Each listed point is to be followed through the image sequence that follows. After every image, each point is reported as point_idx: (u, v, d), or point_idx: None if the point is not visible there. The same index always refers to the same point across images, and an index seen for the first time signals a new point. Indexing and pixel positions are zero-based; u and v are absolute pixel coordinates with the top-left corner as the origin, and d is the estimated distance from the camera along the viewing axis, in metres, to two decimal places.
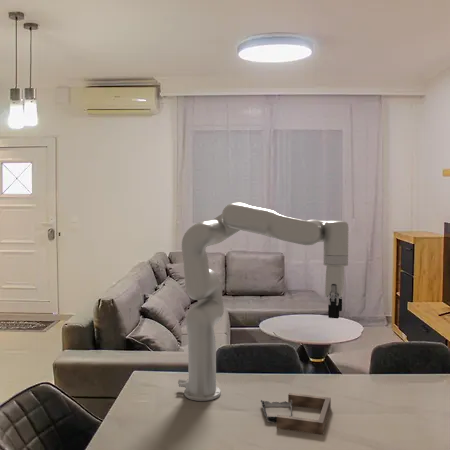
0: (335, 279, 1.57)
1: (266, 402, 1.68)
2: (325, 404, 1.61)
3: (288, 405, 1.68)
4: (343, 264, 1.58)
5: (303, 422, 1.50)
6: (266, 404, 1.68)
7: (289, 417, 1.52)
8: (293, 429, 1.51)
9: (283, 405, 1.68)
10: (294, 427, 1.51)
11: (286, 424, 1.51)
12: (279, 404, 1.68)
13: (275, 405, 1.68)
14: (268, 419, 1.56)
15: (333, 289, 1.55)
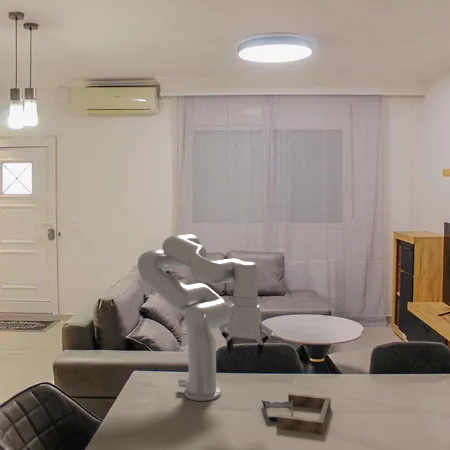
0: (260, 318, 1.62)
1: (267, 402, 1.68)
2: (325, 404, 1.61)
3: (289, 405, 1.68)
4: None
5: (303, 422, 1.50)
6: (267, 404, 1.68)
7: (289, 417, 1.52)
8: (293, 429, 1.51)
9: (284, 405, 1.68)
10: (294, 427, 1.51)
11: (286, 424, 1.51)
12: (280, 404, 1.68)
13: (276, 405, 1.68)
14: (269, 419, 1.56)
15: (266, 327, 1.62)
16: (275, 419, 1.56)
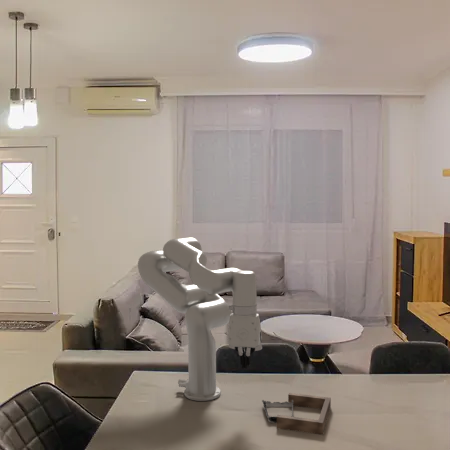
0: (260, 327, 1.62)
1: (267, 402, 1.68)
2: (325, 404, 1.61)
3: (289, 405, 1.68)
4: None
5: (303, 422, 1.50)
6: (267, 404, 1.68)
7: (289, 417, 1.52)
8: (293, 429, 1.51)
9: (284, 405, 1.68)
10: (294, 427, 1.51)
11: (286, 424, 1.51)
12: (280, 404, 1.68)
13: (276, 405, 1.68)
14: (270, 419, 1.56)
15: (260, 342, 1.62)
16: (276, 419, 1.56)
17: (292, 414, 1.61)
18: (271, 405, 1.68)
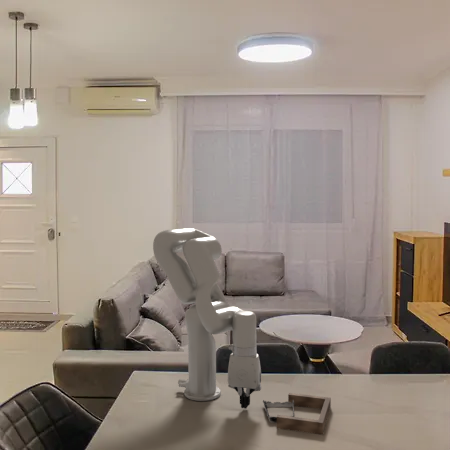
0: (260, 367, 1.63)
1: (268, 402, 1.68)
2: (325, 404, 1.61)
3: (290, 405, 1.68)
4: None
5: (303, 422, 1.50)
6: (268, 404, 1.68)
7: (289, 417, 1.52)
8: (293, 429, 1.51)
9: (285, 405, 1.68)
10: (294, 427, 1.51)
11: (286, 424, 1.51)
12: (281, 404, 1.68)
13: (277, 405, 1.68)
14: (270, 419, 1.56)
15: (259, 383, 1.63)
16: (276, 419, 1.56)
17: (293, 414, 1.61)
18: (272, 405, 1.68)
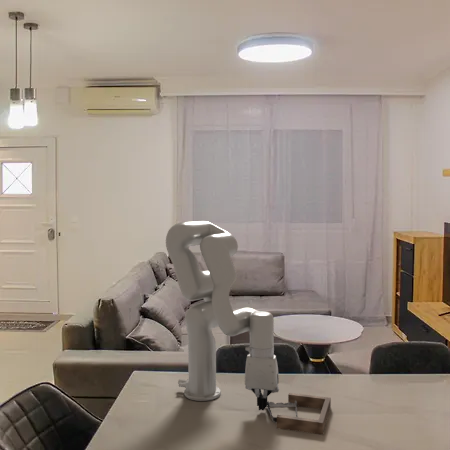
0: (277, 368, 1.61)
1: (271, 403, 1.68)
2: (325, 404, 1.61)
3: (293, 406, 1.68)
4: None
5: (303, 422, 1.50)
6: (271, 405, 1.68)
7: (289, 417, 1.52)
8: (293, 429, 1.51)
9: (288, 406, 1.68)
10: (294, 427, 1.51)
11: (286, 424, 1.51)
12: (284, 405, 1.68)
13: (280, 406, 1.68)
14: (274, 420, 1.56)
15: (277, 384, 1.61)
16: None
17: (296, 415, 1.61)
18: (274, 406, 1.68)
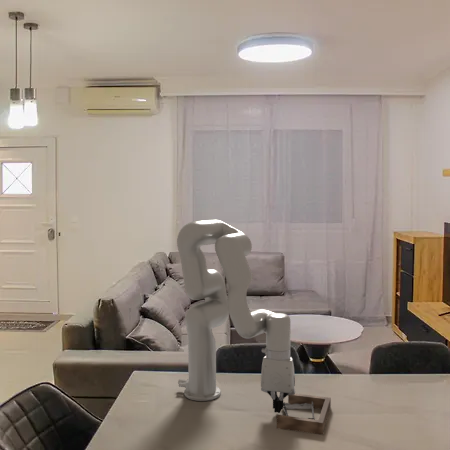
0: None
1: (287, 404, 1.67)
2: (325, 404, 1.61)
3: (309, 407, 1.66)
4: None
5: (303, 422, 1.50)
6: (287, 406, 1.67)
7: (289, 417, 1.52)
8: (293, 429, 1.51)
9: (304, 407, 1.66)
10: (294, 427, 1.51)
11: (286, 424, 1.51)
12: (300, 406, 1.66)
13: (296, 407, 1.66)
14: None
15: (293, 387, 1.60)
16: None
17: None
18: (291, 407, 1.67)
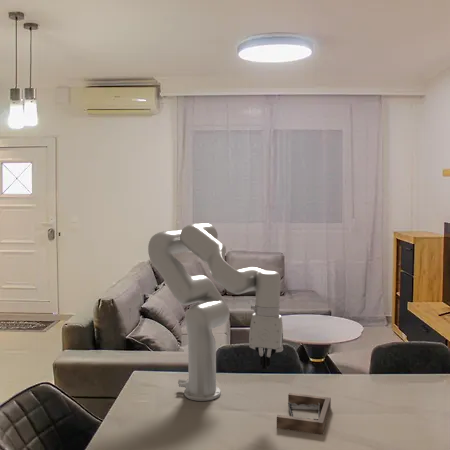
0: (282, 328, 1.60)
1: (293, 404, 1.67)
2: (325, 404, 1.61)
3: (316, 408, 1.66)
4: None
5: (303, 422, 1.50)
6: (293, 406, 1.66)
7: (289, 417, 1.52)
8: (293, 429, 1.51)
9: (311, 408, 1.66)
10: (294, 427, 1.51)
11: (286, 424, 1.51)
12: (307, 407, 1.66)
13: (302, 407, 1.66)
14: None
15: (281, 344, 1.60)
16: None
17: (318, 417, 1.59)
18: (297, 407, 1.66)
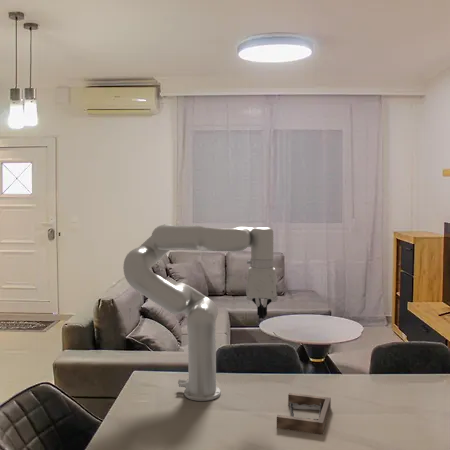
0: (276, 279, 1.73)
1: (295, 404, 1.67)
2: (325, 404, 1.61)
3: (317, 408, 1.65)
4: None
5: (303, 422, 1.50)
6: (295, 406, 1.67)
7: (289, 417, 1.52)
8: (293, 429, 1.51)
9: (312, 408, 1.66)
10: (294, 427, 1.51)
11: (286, 424, 1.51)
12: (308, 407, 1.66)
13: (304, 408, 1.66)
14: None
15: (276, 294, 1.73)
16: None
17: None
18: (299, 407, 1.66)
